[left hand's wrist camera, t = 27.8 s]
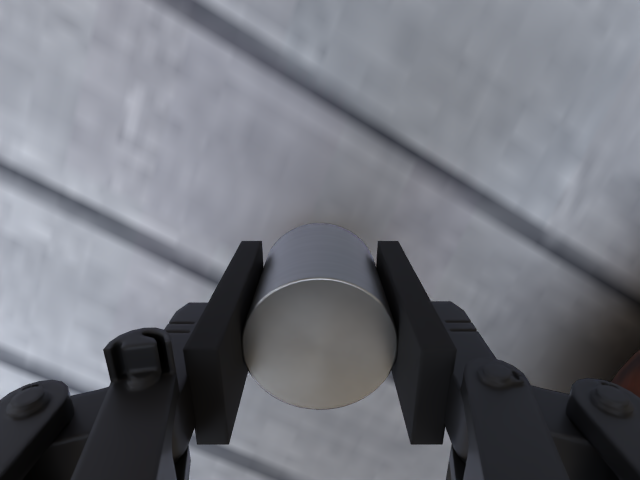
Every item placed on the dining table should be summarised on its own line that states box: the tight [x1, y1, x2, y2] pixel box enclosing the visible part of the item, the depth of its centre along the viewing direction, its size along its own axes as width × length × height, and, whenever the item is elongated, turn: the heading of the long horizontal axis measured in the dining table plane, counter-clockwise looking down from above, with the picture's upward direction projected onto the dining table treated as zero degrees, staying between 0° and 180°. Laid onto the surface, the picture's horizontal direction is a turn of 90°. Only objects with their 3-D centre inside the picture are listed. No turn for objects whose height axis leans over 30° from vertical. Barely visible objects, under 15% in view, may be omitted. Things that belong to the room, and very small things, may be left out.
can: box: [241, 223, 398, 410], centre depth 13 cm, size 4×4×5 cm
